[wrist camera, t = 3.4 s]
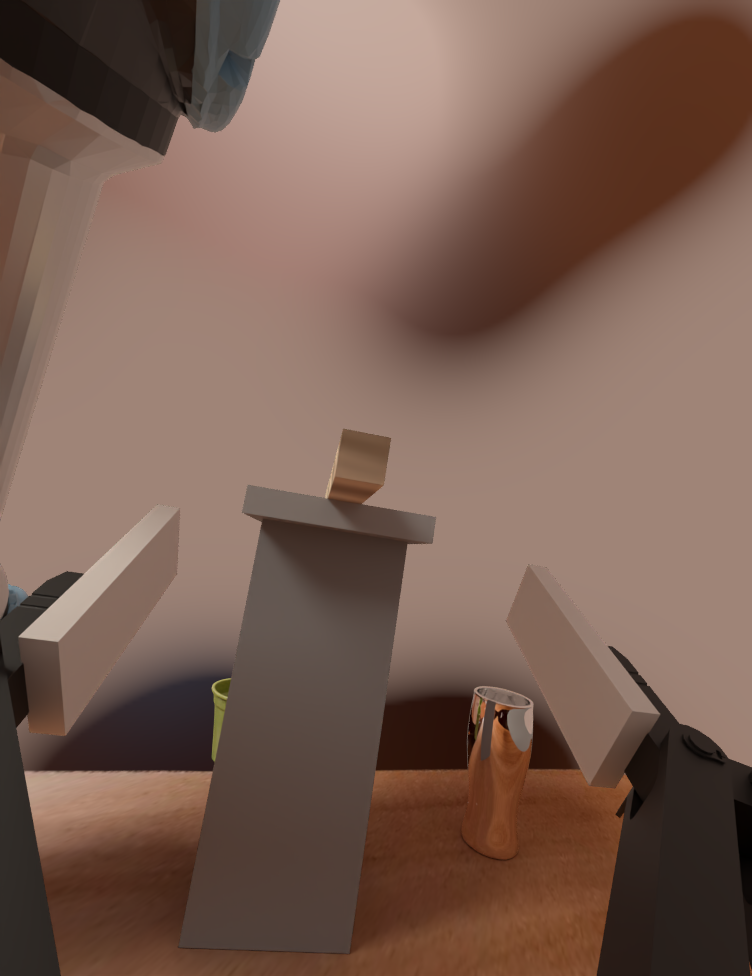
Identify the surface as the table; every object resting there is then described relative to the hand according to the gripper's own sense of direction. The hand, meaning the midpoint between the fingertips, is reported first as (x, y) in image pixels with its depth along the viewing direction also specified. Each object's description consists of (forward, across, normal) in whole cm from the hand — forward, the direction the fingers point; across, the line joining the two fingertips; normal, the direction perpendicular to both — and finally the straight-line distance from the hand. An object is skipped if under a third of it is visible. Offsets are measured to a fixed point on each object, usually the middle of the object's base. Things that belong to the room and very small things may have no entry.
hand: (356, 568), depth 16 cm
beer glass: (+14, +23, -41) cm, 49 cm away
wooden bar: (+18, 0, -5) cm, 18 cm away
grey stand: (+6, 0, -36) cm, 36 cm away
